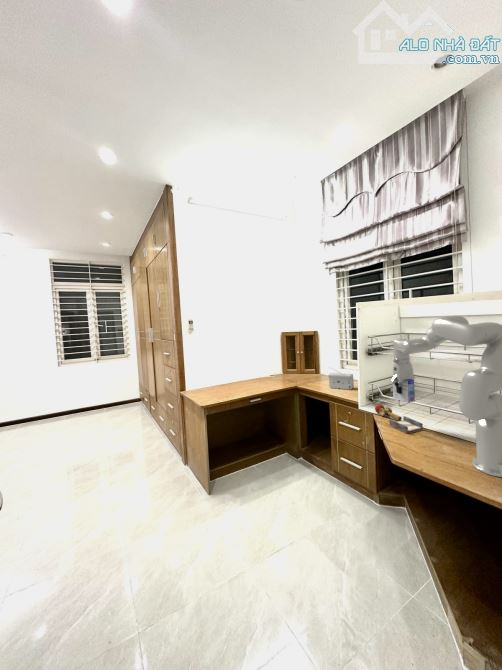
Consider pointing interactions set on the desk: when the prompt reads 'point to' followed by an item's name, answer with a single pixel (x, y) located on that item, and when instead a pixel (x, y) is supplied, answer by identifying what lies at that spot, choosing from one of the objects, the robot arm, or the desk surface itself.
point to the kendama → (386, 411)
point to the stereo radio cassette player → (341, 380)
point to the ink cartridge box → (405, 391)
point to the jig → (407, 425)
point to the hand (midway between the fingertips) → (403, 392)
